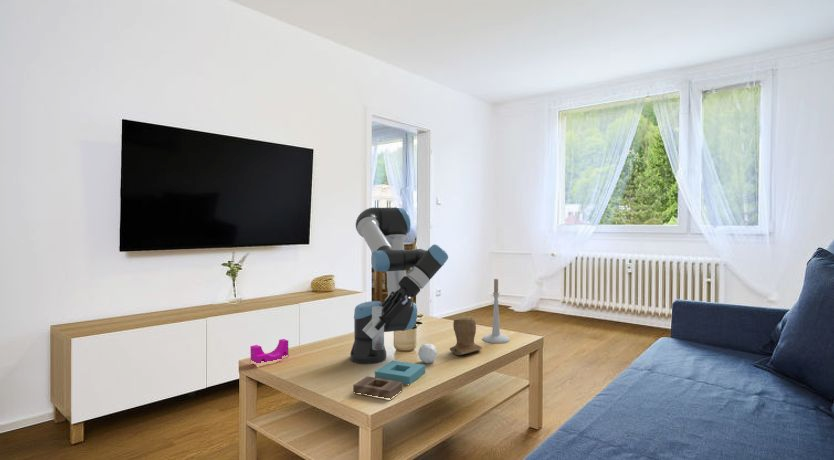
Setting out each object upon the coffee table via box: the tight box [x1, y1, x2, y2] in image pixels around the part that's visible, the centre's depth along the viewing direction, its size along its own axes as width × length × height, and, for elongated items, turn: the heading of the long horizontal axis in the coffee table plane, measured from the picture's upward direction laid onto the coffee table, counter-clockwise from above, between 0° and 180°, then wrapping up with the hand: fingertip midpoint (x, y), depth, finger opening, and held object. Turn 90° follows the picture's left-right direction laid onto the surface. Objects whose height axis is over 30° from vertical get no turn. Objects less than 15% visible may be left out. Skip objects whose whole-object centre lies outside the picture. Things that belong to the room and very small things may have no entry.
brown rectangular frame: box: [352, 375, 404, 399], centre depth 152 cm, size 14×9×3 cm, turn 66°
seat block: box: [374, 360, 426, 386], centre depth 167 cm, size 14×14×3 cm
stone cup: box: [449, 317, 483, 356], centre depth 198 cm, size 15×12×15 cm
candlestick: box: [482, 278, 510, 344], centre depth 217 cm, size 13×13×30 cm
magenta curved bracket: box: [250, 338, 289, 363], centre depth 185 cm, size 15×6×8 cm, turn 138°
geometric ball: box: [417, 343, 438, 364], centre depth 183 cm, size 8×8×8 cm
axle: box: [372, 306, 385, 350], centre depth 151 cm, size 4×4×14 cm
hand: (367, 334), depth 150 cm, fingers closed on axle, 4 cm apart
